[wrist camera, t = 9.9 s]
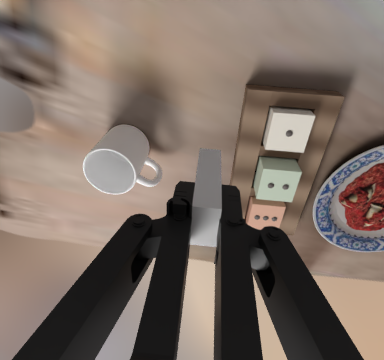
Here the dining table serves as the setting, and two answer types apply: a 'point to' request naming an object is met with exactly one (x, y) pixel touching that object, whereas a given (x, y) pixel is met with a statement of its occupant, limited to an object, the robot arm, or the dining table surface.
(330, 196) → the ceramic plate
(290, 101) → the button board
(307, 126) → the tile one
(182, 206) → the robot arm
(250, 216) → the tile three
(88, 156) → the cup
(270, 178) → the tile two
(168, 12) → the dining table surface
